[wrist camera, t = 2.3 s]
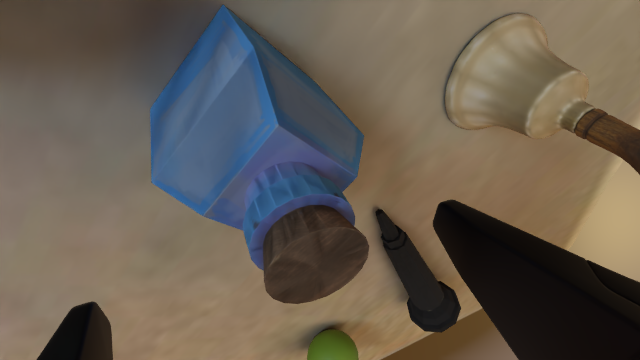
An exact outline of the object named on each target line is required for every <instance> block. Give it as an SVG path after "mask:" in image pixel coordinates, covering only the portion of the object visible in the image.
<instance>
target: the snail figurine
mask: <svg viewBox="0 0 640 360" xmlns="http://www.w3.org/2000/svg"><path fill="white" fill-rule="evenodd" d="M307 360H358V351H357V348H356V345H355V343H354V342H353V340H352V339H351V338H350V337H349V336H348V335H347V334H346V333H344V332H342V331H340V330H335V329H330V330H325V331H323V332H321V333H319V334H318V335H317V336H316V337H315V338H314V339H313V340H312V342H311V344H310V346H309V349H308V355H307Z"/></svg>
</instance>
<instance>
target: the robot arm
mask: <svg viewBox="0 0 640 360" xmlns="http://www.w3.org/2000/svg"><path fill="white" fill-rule="evenodd" d="M433 227H434V230H435V232H436V234H437V235H438V237H439V239H440V241H441V243H442V244H443V246H444V248H445V250H446V252H447V253H448V255H449V257H450V259H451V261H452V262H453V264H454V266H455V268H456V269H457V271H458V273H459V274H460V276H461V277H462V279H463V280H464V282H465V283H466V285H467V286H468V287H469V289H470V290H471V292H472V293H473V295H474V296H475V298H476V299H477V300H478V302H479V303H480V305H481V306H482V308H483V309H484V311H485V312H486V313H487V315H488V316H489V318H490V319H491V321H492V322H493V323H494V325H495V326H496V328H497V329H498V331H499V332H500V333H501V335H502V336H503V338H504V339H505V341H506V342H507V343H508V345H509V347H510V348H511V349H512V351H513V352H514V354H515V355H516V356H517V358H518V359H519V360H640V282H638V281H635V280H633V279H630V278H628V277H625V276H623V275H621V274H618V273H616V272H614V271H611V270H609V269H607V268H604V267H602V266H600V265H598V264H596V263H593V262H591V261H589V260H585V259H584V258H582V257H580V256H578V255H575V254H573V253H571V252H569V251H567V250H564V249H562V248H560V247H558V246H556V245H553V244H551V243H549V242H547V241H544V240H542V239H540V238H538V237H536V236H533V235H531V234H529V233H527V232H524V231H522V230H520V229H518V228H516V227H513V226H511V225H509V224H507V223H504V222H502V221H500V220H498V219H496V218H493V217H491V216H489V215H487V214H485V213H482V212H480V211H478V210H476V209H473V208H471V207H469V206H467V205H465V204H462V203H460V202H458V201H456V200H447V201H444V202H441V203H440V204H439V205H438V207H437V210H436V213H435V217H434V220H433ZM37 360H113V352H112V333H111V325H110V322H109V320H108V318H107V317H106V316H105V314H104V313H103V311H102V310H101V308H100V307H99V306H98V304H97V303H95V302H88V303H85V304H81V305H78V306H75V307H73V308H72V309H71V310H70V311H69V313H68V314H67V315H66V317H65V318H64V320H63V321H62V323H61V324H60V326H59V327H58V329H57V330H56V332H55V333H54V335H53V336H52V338H51V339H50V341H49V342H48V344H47V345H46V347H45V348H44V350H43V351H42V353H41V354H40V355H39V357H38V358H37Z"/></svg>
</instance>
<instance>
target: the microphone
mask: <svg viewBox="0 0 640 360" xmlns="http://www.w3.org/2000/svg"><path fill="white" fill-rule="evenodd" d="M376 216H377V219H378V222H379V224H380V227H381V230H382V236H381V239H382V240H383V245H384V248H385V250H386V252H387V254H388V256H389V258H390V259H391V261H392V263H393V265H394V267H395V269H396V271H397V273H398V275H399V277H400V279H401V281H402V283H403V285H404V287H405V289H406V291H407V293H408V295H409V299H408V301H407V306H408V310H409V314H410V318H411V320H412V321H413V322H414V323H415V324H417V325H418V326H419V327H420V328H421V329H423V330H424V331H429V332H443V331H445V330H446V329H448V328H449V327H451V326H452V325H454V324H455V323H456V321H457V318H458V315H459V313H460V310H461V307H460V304H459V301H458V298H457V296H456V293H455V291H454V290H453V289H451V288H450V287H448V286H447V285H445V284H444V283H442V282H441V281H437V280H436V278H435V277H434V275H433V274H432V272H431V271H430V269H429V268H428V266H427V265H426V263H425V261H424V260H423V258H422V257H421V255H420V254H419V252H418V251H417V249H416V248H415V246H414V245H413V243H412V241H411V240H410V238H409V237H408V235H407V234H406V232H404V231H403V230H402V229H400V228H399V227H398V226H396V225H394V223H393V222H392V221H391V219H390V218H389V217H388V216H387V215H386V214H385V213H384V212H383V210H381V209H378V210H377V211H376Z"/></svg>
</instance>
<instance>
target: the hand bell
mask: <svg viewBox="0 0 640 360" xmlns="http://www.w3.org/2000/svg"><path fill="white" fill-rule="evenodd" d="M588 89H589V82H588V79H587V77H586V75H585V74H584V73H583V72H581V71H579V70H578V69H576V68H574V67H572V66H570V65H568V64H567V63H565V62H564V61H562V60H561V59H560V58H558V57H557V56H556V55H555V54H553V53H552V52H551V51H550V49H549V48H548V41H547V36H546V33H545V30H544V28H543V27H542V25H541V24H540V22H539V21H538V20H537V19H536V18H534V17H533V16H530V15H528V14H522V13H518V14H511V15H508V16H505V17H502V18H500V19H498V20H496V21H494V22H493V23H491V24H490V25H488V26H487V27H486V28H484V29H483V30H482V31H481V32H480V33H478V34H477V35H476V36H475V37H474V38H473V39H472V41H471V42H470V43H469V44H468V46H467V47H466V48H465V49H464V50H463V52H462V53H461V55H460V56H459V58H458V60H457V62H456V64H455V65H454V68H453V70H452V72H451V75H450V78H449V80H448V84H447V87H446V95H445V106H446V111H447V114H448V116H449V119H450V120H451V121H452V122H453V123H454V124H455V125H456V126H458V127H460V128H463V129H468V130H477V129H483V128H487V127H490V126H500V127H505V128H508V129H511V130H514V131H517V132H519V133H522V134H524V135H526V136H528V137H530V138H534V139H543V138H547V137H549V136H552V135H554V134H555V133H557V132H559V131H560V130H561V129H566V130H568V131H570V132H572V133H575V134H576V135H577V136H579V137H581V138H583V139H587V140H588V141H589V142H591V143H593V144H595V145H598V146H600V147H602V148H604V149H606V150H608V151H610V152H612V153H614V154H616V155H617V156H619V157H621V158H622V159H623V160H625V161H626V162H627V163H629V164H630V165H631V166H632V167H633V168H634V169H635V170H636V171H637V172H638V173H639V174H640V130H639V129H636V128H634V127H633V126H631V125H629V124H627V123H625V122H623V121H621V120H619V119H617V118H615V117H613V116H611V115H608V114H607V113H606V112H604V111H603V110H601V109H596V108H595V107H594V106H592V105H590V104H588V103H586V102H585V99H586V97H587V93H588Z"/></svg>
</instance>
